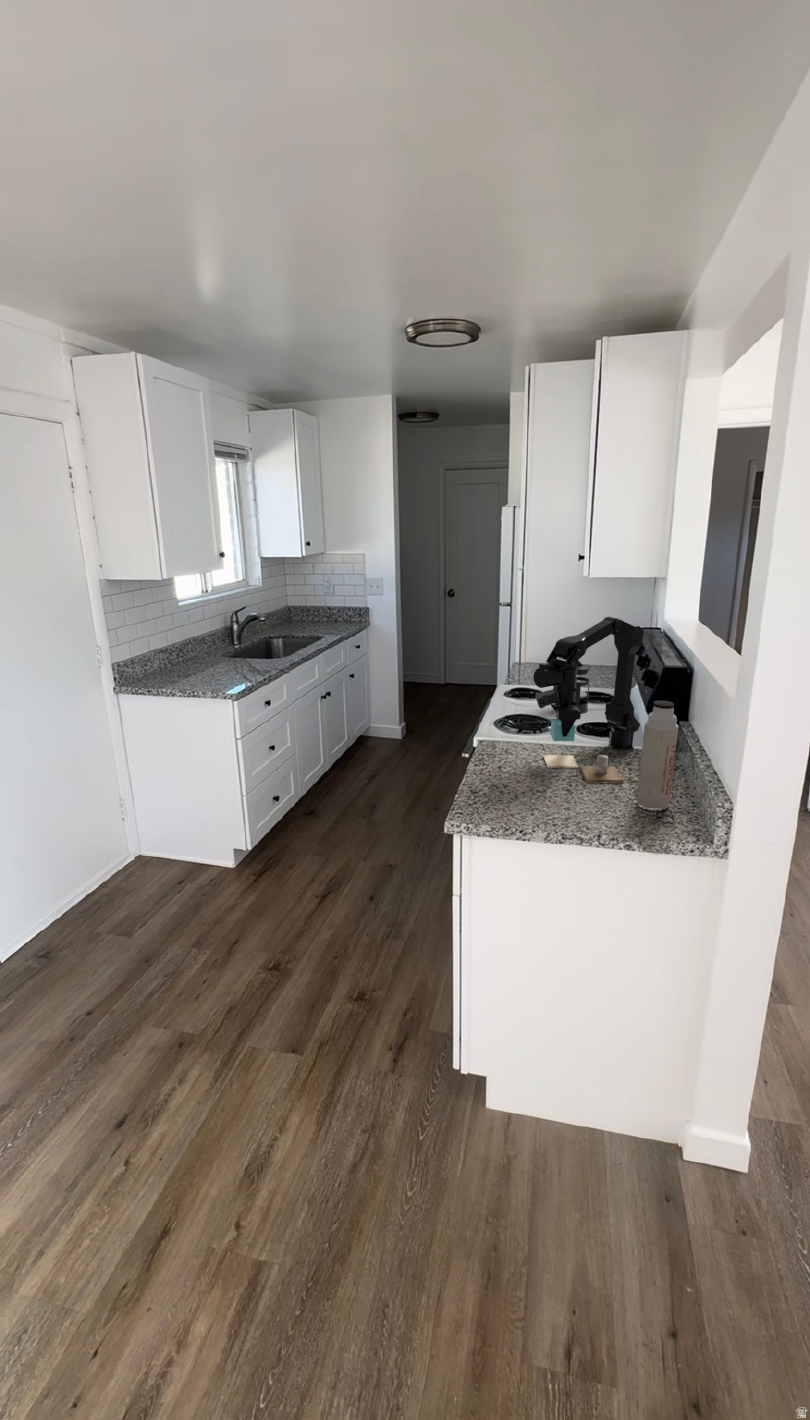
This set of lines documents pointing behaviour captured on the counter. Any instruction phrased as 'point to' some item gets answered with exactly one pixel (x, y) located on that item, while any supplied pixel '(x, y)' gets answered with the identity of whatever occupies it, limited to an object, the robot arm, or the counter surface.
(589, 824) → the counter surface
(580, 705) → the french press
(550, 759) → the board
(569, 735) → the teal cube
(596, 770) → the post stand
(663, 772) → the thermos bottle
